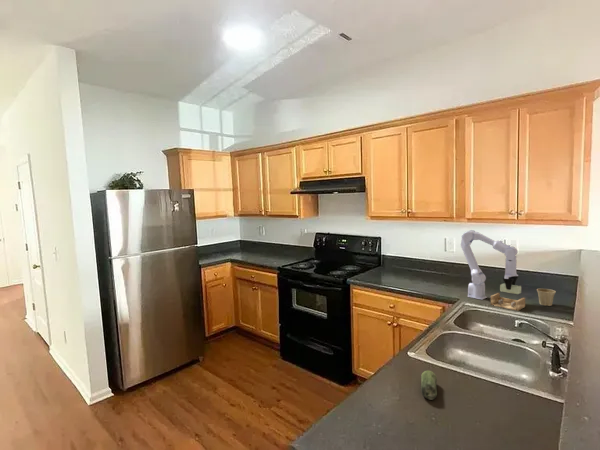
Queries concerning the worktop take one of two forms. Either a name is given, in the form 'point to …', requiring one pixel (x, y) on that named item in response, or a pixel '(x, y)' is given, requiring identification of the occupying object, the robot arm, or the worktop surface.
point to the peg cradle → (507, 302)
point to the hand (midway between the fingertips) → (510, 288)
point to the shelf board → (514, 289)
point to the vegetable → (428, 385)
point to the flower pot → (546, 296)
